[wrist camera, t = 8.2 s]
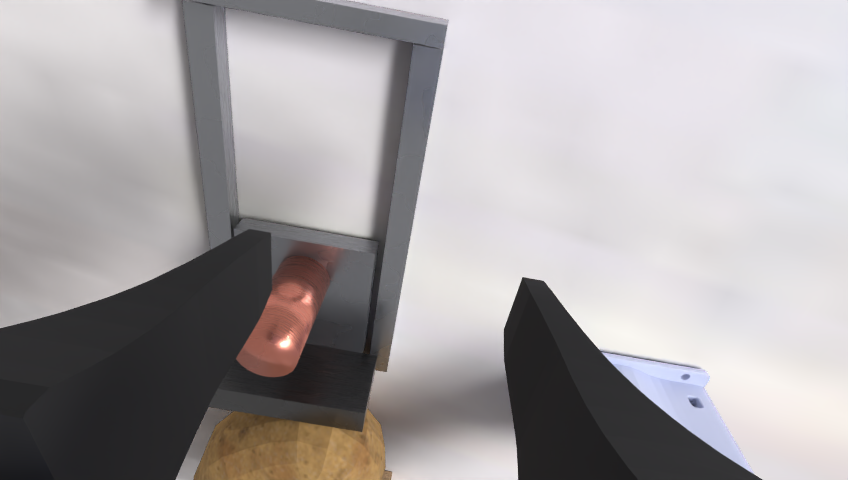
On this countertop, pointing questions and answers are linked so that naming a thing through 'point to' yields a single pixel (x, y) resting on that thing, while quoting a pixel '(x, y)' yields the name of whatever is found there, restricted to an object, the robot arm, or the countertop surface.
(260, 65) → the countertop surface
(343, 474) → the potato
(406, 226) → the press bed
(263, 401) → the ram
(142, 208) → the countertop surface
